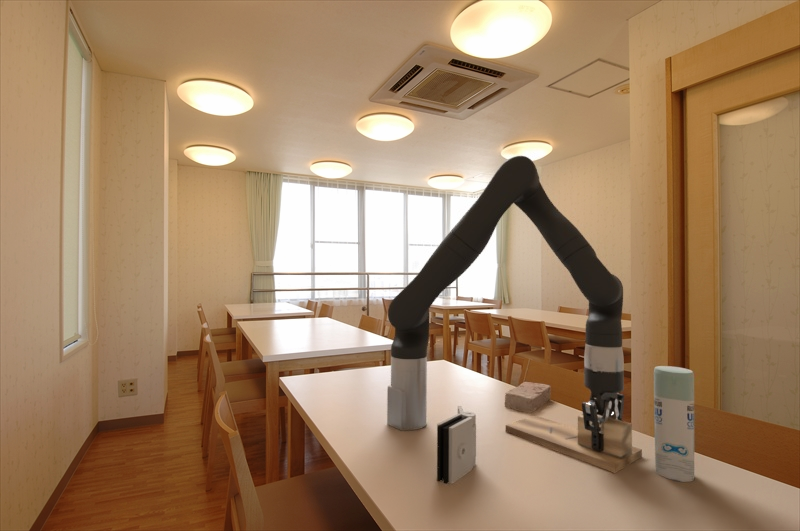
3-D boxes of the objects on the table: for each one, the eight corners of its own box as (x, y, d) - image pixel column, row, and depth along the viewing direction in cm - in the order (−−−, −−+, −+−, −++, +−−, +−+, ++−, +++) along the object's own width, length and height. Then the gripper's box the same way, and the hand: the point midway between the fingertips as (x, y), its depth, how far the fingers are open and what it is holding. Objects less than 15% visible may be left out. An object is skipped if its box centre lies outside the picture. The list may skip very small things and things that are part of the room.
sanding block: (620, 459, 81) (620, 429, 81) (577, 443, 88) (577, 416, 88) (631, 452, 84) (632, 423, 84) (589, 438, 91) (589, 411, 91)
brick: (531, 414, 113) (531, 396, 113) (503, 407, 118) (503, 391, 118) (551, 400, 125) (551, 385, 126) (525, 395, 131) (525, 380, 131)
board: (615, 473, 78) (614, 464, 78) (505, 431, 99) (505, 424, 99) (642, 456, 85) (641, 449, 86) (534, 421, 106) (534, 415, 106)
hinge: (457, 452, 87) (458, 405, 87) (482, 457, 85) (482, 409, 85) (433, 481, 75) (434, 425, 75) (461, 488, 72) (461, 431, 73)
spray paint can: (696, 485, 74) (695, 375, 74) (654, 476, 77) (653, 370, 78) (693, 471, 79) (692, 368, 80) (654, 463, 83) (653, 364, 83)
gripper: (602, 359, 94) (603, 433, 93) (568, 367, 85) (569, 449, 84) (637, 365, 88) (637, 444, 87) (604, 374, 79) (605, 462, 79)
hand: (604, 446), depth 86 cm, fingers closed on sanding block, 5 cm apart
